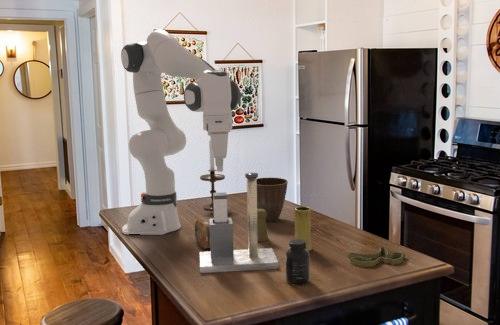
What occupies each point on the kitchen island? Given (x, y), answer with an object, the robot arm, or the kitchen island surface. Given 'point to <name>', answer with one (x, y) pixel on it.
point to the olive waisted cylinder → (261, 225)
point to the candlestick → (211, 178)
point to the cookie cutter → (366, 258)
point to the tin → (202, 233)
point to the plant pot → (271, 196)
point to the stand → (222, 242)
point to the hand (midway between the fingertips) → (219, 168)
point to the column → (220, 207)
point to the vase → (303, 225)
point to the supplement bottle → (297, 263)
